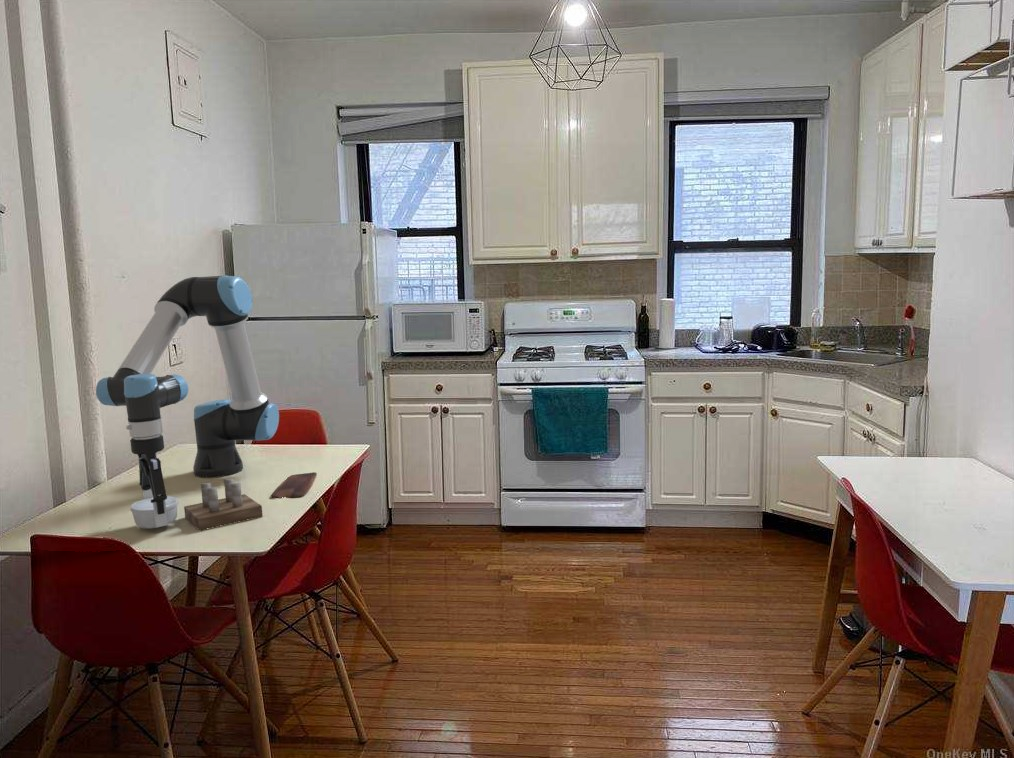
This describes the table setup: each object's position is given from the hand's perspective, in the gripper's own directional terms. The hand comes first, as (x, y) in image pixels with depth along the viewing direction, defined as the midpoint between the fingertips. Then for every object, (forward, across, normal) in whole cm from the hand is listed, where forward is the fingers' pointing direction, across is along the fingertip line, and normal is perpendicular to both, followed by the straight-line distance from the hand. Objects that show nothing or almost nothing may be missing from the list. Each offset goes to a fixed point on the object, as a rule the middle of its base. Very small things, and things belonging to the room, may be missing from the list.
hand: (156, 519), depth 197 cm
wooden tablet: (+3, -13, +42) cm, 44 cm away
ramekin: (+1, 0, 0) cm, 1 cm away
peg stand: (+2, +3, +16) cm, 16 cm away
